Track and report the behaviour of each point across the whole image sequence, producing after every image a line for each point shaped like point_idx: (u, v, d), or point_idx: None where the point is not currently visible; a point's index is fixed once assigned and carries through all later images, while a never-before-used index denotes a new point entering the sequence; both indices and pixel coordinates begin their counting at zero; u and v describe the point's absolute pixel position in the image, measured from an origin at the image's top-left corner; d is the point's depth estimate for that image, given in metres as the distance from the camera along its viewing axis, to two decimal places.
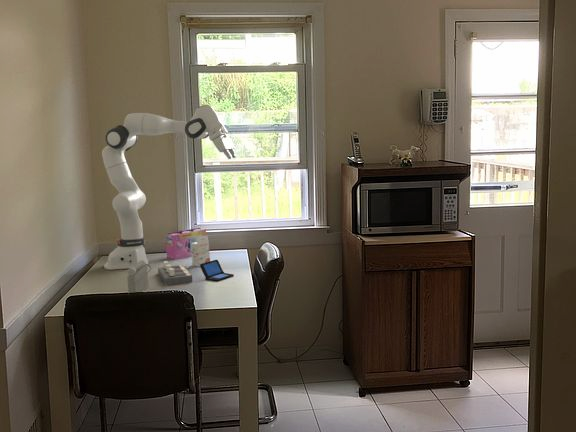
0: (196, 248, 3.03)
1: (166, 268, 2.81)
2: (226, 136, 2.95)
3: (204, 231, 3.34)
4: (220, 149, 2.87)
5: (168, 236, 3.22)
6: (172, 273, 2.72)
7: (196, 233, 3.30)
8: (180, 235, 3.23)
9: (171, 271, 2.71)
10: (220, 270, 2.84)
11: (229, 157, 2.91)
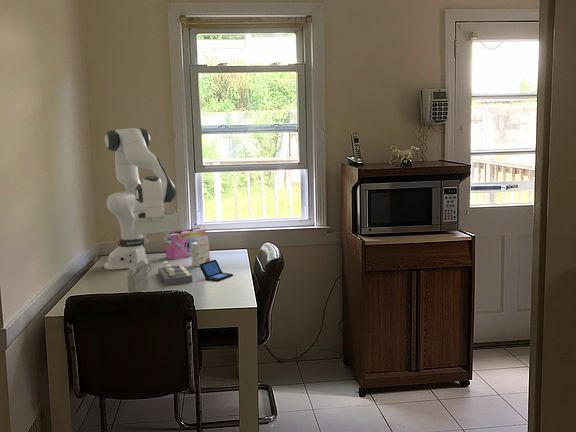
0: (196, 248, 3.03)
1: (166, 268, 2.81)
2: (154, 220, 2.64)
3: (203, 231, 3.34)
4: (132, 231, 2.65)
5: None
6: (172, 273, 2.72)
7: (195, 233, 3.30)
8: (179, 235, 3.23)
9: (171, 271, 2.71)
10: (219, 270, 2.84)
11: (146, 242, 2.67)
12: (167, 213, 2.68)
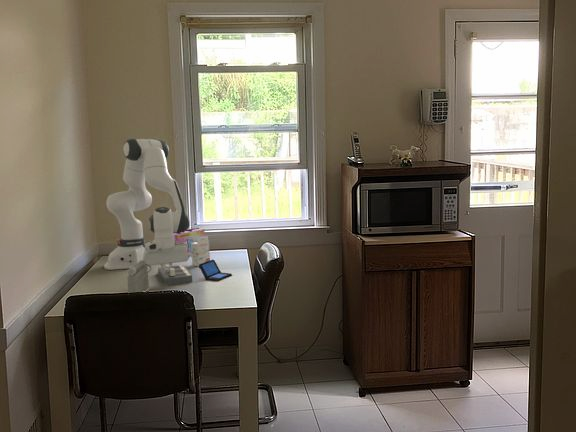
0: (196, 248, 3.03)
1: (166, 268, 2.81)
2: (164, 251, 2.67)
3: (202, 231, 3.34)
4: None
5: None
6: (173, 273, 2.72)
7: (194, 233, 3.30)
8: (178, 235, 3.23)
9: (172, 271, 2.71)
10: (217, 270, 2.84)
11: (163, 271, 2.71)
12: (177, 244, 2.72)
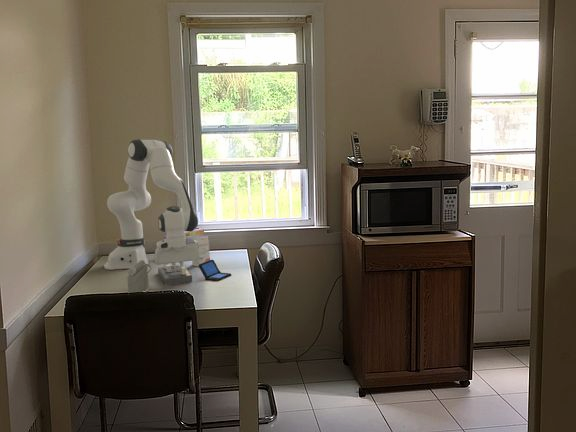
0: None
1: (166, 268, 2.81)
2: (176, 250, 2.69)
3: (202, 231, 3.34)
4: None
5: None
6: (184, 272, 2.73)
7: (194, 233, 3.30)
8: None
9: (183, 270, 2.73)
10: (217, 270, 2.84)
11: None
12: (188, 242, 2.73)
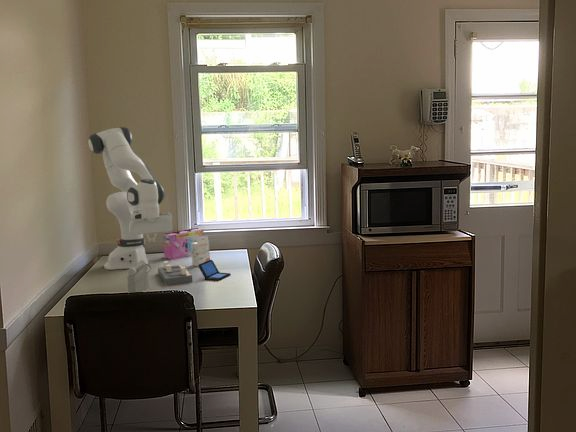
0: (196, 248, 3.03)
1: (166, 268, 2.81)
2: (149, 221, 2.79)
3: (201, 231, 3.34)
4: (129, 231, 2.80)
5: (165, 236, 3.23)
6: (184, 272, 2.73)
7: (193, 233, 3.30)
8: (177, 235, 3.23)
9: (183, 270, 2.73)
10: (216, 270, 2.85)
11: None
12: (162, 214, 2.84)
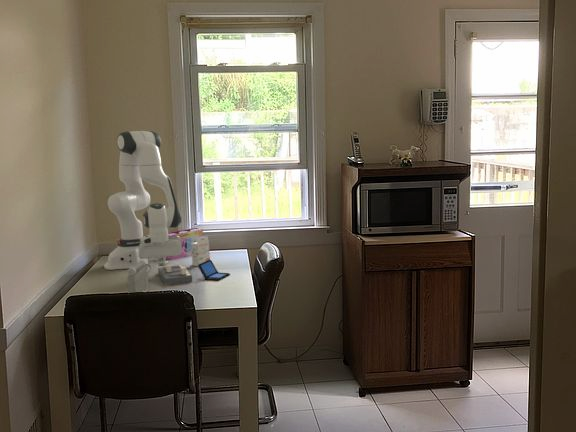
0: (196, 248, 3.03)
1: (166, 268, 2.81)
2: (158, 245, 2.82)
3: (201, 231, 3.34)
4: None
5: None
6: (184, 272, 2.73)
7: (193, 233, 3.30)
8: (177, 235, 3.23)
9: (183, 270, 2.73)
10: (215, 270, 2.85)
11: (158, 264, 2.86)
12: (171, 238, 2.86)
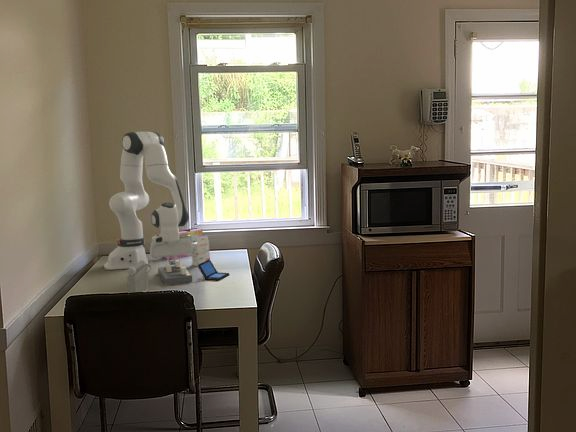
0: (196, 248, 3.03)
1: (166, 268, 2.81)
2: (170, 244, 2.84)
3: (201, 231, 3.34)
4: (150, 254, 2.85)
5: None
6: (184, 272, 2.73)
7: (193, 233, 3.31)
8: None
9: (183, 270, 2.73)
10: (214, 270, 2.85)
11: (169, 263, 2.88)
12: (182, 237, 2.88)
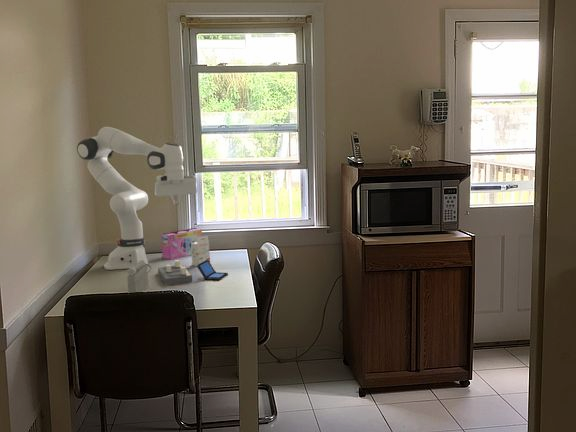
0: (196, 248, 3.03)
1: (166, 268, 2.81)
2: (174, 183, 2.87)
3: (200, 231, 3.34)
4: (155, 193, 2.88)
5: (164, 236, 3.23)
6: (184, 272, 2.73)
7: (192, 233, 3.31)
8: (176, 235, 3.23)
9: (183, 270, 2.73)
10: (212, 270, 2.85)
11: (173, 203, 2.91)
12: (187, 177, 2.91)
